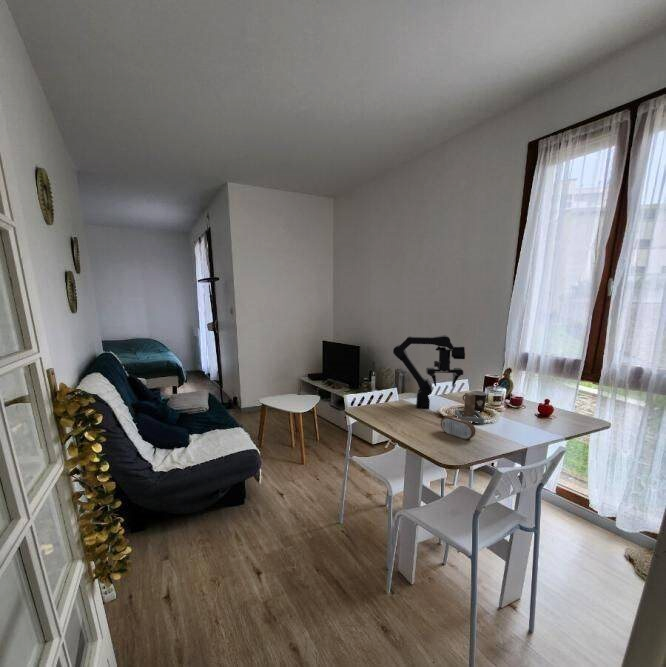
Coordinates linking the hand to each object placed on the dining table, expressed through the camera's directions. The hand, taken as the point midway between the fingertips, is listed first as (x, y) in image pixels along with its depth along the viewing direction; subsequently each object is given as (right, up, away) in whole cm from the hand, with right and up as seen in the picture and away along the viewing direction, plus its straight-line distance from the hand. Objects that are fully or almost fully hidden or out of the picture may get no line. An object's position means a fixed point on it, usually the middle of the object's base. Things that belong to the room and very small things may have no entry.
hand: (444, 386), depth 175 cm
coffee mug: (+17, -13, +1) cm, 22 cm away
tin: (-6, -17, -33) cm, 37 cm away
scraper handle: (+8, -14, -13) cm, 21 cm away
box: (+8, -15, -13) cm, 21 cm away
